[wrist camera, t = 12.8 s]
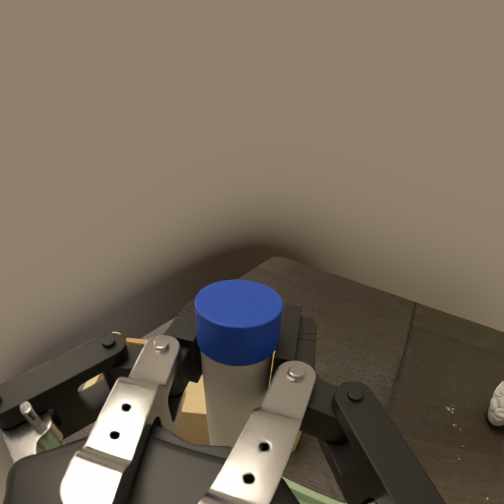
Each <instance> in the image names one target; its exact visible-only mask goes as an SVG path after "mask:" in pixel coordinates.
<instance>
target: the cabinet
mask: <svg viewBox="0 0 504 504" xmlns="http://www.w3.org/2000/svg"><path fill="white" fill-rule="evenodd" d="M274 353H275V351H274ZM273 358H274V355H273ZM272 365H273V362H272ZM271 372H272V369H271ZM270 379H271V376H270ZM269 385H270V383H269ZM186 392H187V393H186V397H185V401H184V404H183V408H182V411H181V415H180V418H179V422H178V426H177V436H179V437H181V438H182V439H184V440H186V441H188V442H189V443H191V444H196V445H210V439H209V431H208V423H207V414H206V404H205V395H204V384H203V373H202V375H201V377H200V380H199V382H198V383H194V382H190V381H189V383H188V385H187V387H186ZM301 433H302V431H299V432H298V434H297V437H296V440H295V443H294V446H293V448H292V451H295V448H296V446H297V443H298V441H299V438H300V436H301Z"/></svg>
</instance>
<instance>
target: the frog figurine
mask: <svg viewBox="0 0 504 504" xmlns="http://www.w3.org/2000/svg"><path fill="white" fill-rule="evenodd" d="M488 409H489V410H488V419H489V421H490V423H491V424H493V425H495V426H502V425H504V381H502V382H501V383H500V384H499V386H498V387H497V388H496V389H495V391H494V394H493V398H492V399H491V401H490V406H489V408H488Z"/></svg>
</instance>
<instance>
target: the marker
mask: <svg viewBox="0 0 504 504" xmlns="http://www.w3.org/2000/svg"><path fill="white" fill-rule="evenodd" d="M282 310H283V303H282V300H281V297H280V296H279V295H278V293H277V292H275V291H274V290H273V289H271V288H270V287H268V286H266V285H263V284H261V283H257V282H253V281H247V280H226V281H220V282H216V283H213V284H211V285H208V286H206V287H205V288H203V289H202V290H201V291H200V292H199V293H198V294H197V296H196V298H195V319H196V334H197V343H198V346H199V348H200V349H201V361H202V373H203V384H204V395H205V404H206V414H207V423H208V431H209V439H210V445H214V446H229V447H234V446H235V444H236V442H237V440H238V438H239V436H240V434H241V433H242V431H243V429H244V427H245V425H246V423H247V421H248V419H249V417H250V415H251V414H252V412H253V410H254V409H255V408H258V407H259V406H260V404H261V402H262V400H263V398H264V396H265V394H266V392H267V389H268V387H269V383H270V376H271V369H272V362H273V355H274V351H275V349H276V347H277V345H278V340H279V333H280V325H281V318H282Z"/></svg>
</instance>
